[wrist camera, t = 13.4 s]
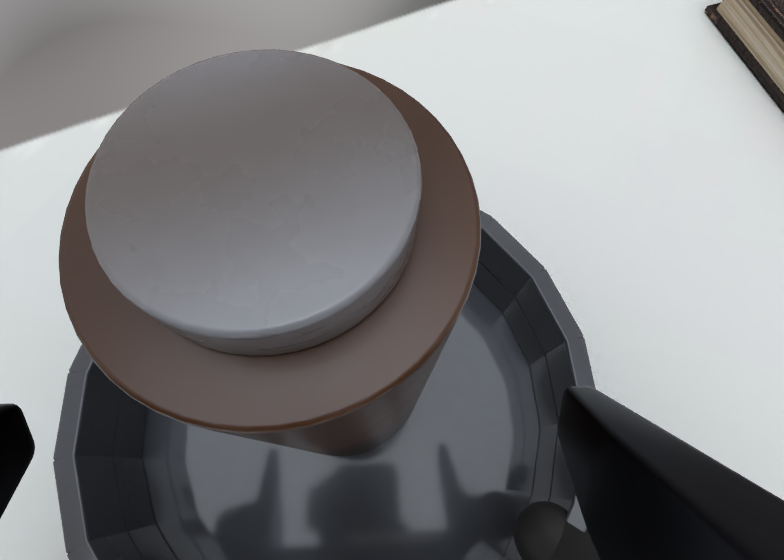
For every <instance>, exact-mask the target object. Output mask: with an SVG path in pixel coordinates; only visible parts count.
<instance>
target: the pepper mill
mask: <svg viewBox="0 0 784 560" xmlns="http://www.w3.org/2000/svg"><path fill="white" fill-rule="evenodd" d="M480 248H481V219H480V210H479V202H478V197H477V194H476V190H475V186H474V183H473V179H472V176H471V174H470V172H469V169H468V167H467V165H466V163H465V160H464V158H463V156H462V154H461V152H460V151H459V149H458V147H457V146H456V144H455V142H454V141H453V139H452V138H451V136H450V135H449V133H448V132H447V131H446V130H445V129H444V127H443V126H442V125H441V124H440V122H439V121H438V120H437V119H436V118H435V117H434V116H433V115H432V114H431V113H430V112H429V111H428V110H427V109H426V108H425V107H424V106H423V105H421V104H420V103H419V102H418V101H416V100H415V99H414V98H412V97H411V96H410V95H408V94H407V93H405V92H404V91H403V90H401V89H399V88H398V87H396V86H394V85H392V84H390V83H389V82H387V81H385V80H383V79H381V78H379V77H376V76H374V75H372V74H369V73H367V72H365V71H362V70H359V69H356V68H352V67H349V66H346V65H342V64H338V63H336V62H334V61H331V60H328V59H325V58H322V57H318V56H315V55H311V54H306V53H301V52H295V51H285V50H251V51H243V52H235V53H230V54H226V55H221V56H216V57H213V58H210V59H207V60H204V61H201V62H198V63H195V64H193V65H191V66H188V67H186V68H184V69H181V70H179V71H177V72H176V73H174V74H172V75H170V76H169V77H167V78H165V79H163V80H161V81H160V82H158V83H157V84H156V85H154V86H153V87H151V88H150V89H148V90H147V91H146V92H144V93H143V94H142V95H141V96H140V97H139V98H138V99H136V100H135V101H134V102H133V103H132V104H131V105H130V106H129V107H128V108H127V109H126V110H125V111H124V112H123V113H122V115H121V116H120V117H119V118H118V119H117V120H116V122H115V123H114V124H113V126H112V127H111V129H110V130H109V131H108V133H107V134H106V136H105V138H104V140H103V142H102V143H101V145H100V147H99V149H98V150H97V151H96V153H95V154H94V156H93V157H92V158H91V160H90V161H89V163H88V164H87V166H86V167H85V169H84V171H83V173H82V175H81V177H80V179H79V180H78V182H77V184H76V186H75V188H74V191H73V194H72V196H71V199H70V201H69V204H68V207H67V209H66V213H65V218H64V222H63V226H62V230H61V236H60V248H59V272H60V285H61V289H62V293H63V298H64V302H65V306H66V310H67V312H68V315H69V317H70V320H71V322H72V325H73V327H74V329H75V332H76V334H77V336H78V338H79V340H80V341H81V343H82V344H83V346H84V348H85V349H86V351H87V353H88V354H89V356H90V357H91V359H92V360H93V361H94V362H95V364H96V365H97V366H98V367H99V368H100V369H101V370H102V372H103V373H104V374H105V375H106V376H107V377H108V378H109V380H111V381H112V382H113V383H114V384H115V385H117V386H118V387H119V388H120V389H122V390H123V391H124V392H125V393H126V394H128V395H129V396H130V397H131V398H133V399H134V400H136V401H138V402H140V403H141V404H143V405H145V406H146V407H148V408H150V409H151V410H153V411H155V412H156V413H159V414H161V415H164V416H166V417H169V418H171V419H174V420H176V421H178V422H181V423H183V424H187V425H191V426H195V427H199V428H203V429H207V430H211V431H216V432H220V433H225V434H230V435H234V436H239V437H244V438H248V439H253V440H258V441H263V442H267V443H272V444H277V445H281V446H286V447H291V448H295V449H300V450H305V451H309V452H314V453H319V454H323V455H330V456H350V455H356V454H360V453H363V452H366V451H369V450H372V449H374V448H376V447H378V446H380V445H381V444H383V443H384V442H386V441H387V440H389V439H390V438H391V437H392V436H393V435H395V434H396V433H397V432H398V431H399V430H400V428H401V427H402V426H403V425H404V424H405V422H406V421H407V419H408V418H409V416H410V415H411V413H412V411H413V409H414V407H415V405H416V403H417V401H418V399H419V397H420V394H421V392H422V390H423V388H424V386H425V384H426V382H427V380H428V378H429V376H430V374H431V372H432V370H433V368H434V366H435V364H436V362H437V360H438V358H439V356H440V354H441V352H442V350H443V348H444V346H445V344H446V342H447V340H448V338H449V336H450V333H451V331H452V329H453V327H454V325H455V323H456V321H457V319H458V317H459V315H460V313H461V311H462V309H463V307H464V305H465V303H466V301H467V299H468V296H469V293H470V290H471V287H472V284H473V281H474V278H475V275H476V271H477V265H478V260H479V254H480Z"/></svg>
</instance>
